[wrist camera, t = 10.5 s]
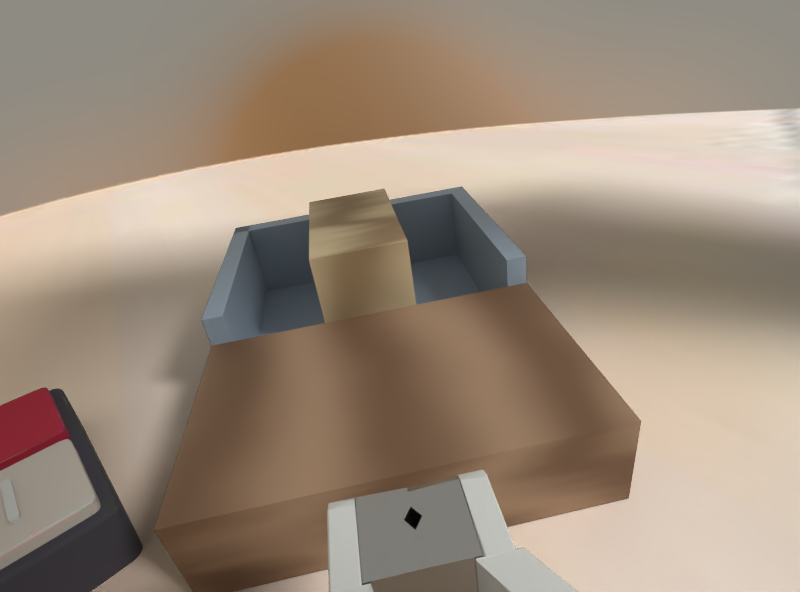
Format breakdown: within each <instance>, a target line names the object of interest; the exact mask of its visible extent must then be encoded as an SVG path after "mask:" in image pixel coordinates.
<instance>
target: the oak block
mask: <svg viewBox="0 0 800 592" xmlns="http://www.w3.org/2000/svg"><path fill="white" fill-rule="evenodd" d="M309 262H310V266H311V270H312V274H313V278H314V282H315V286H316V290H317V293H318V297H319V301H320V305H321V309H322V313H323V317H324V321H325V323H328V322H333V321H338V320H343V319H348V318H353V317H358V316H363V315H368V314H373V313H378V312H383V311H388V310H393V309H398V308H403V307H408V306H413V305H416V299H415V291H414V284H413V277H412V270H411V262H410V255H409V248H408V241H407V239H406V236H405V234H404V232H403V230H402V227H401V225H400V223H399V221H398V218H397V216H396V214H395V212H394V209H393V207H392V205H391V203H390V200H389V198H388V196H387V194H386V191H385V189H380V190H375V191H369V192H364V193H358V194H353V195H347V196H342V197H336V198H331V199H325V200H320V201H314V202H310V207H309Z"/></svg>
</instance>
